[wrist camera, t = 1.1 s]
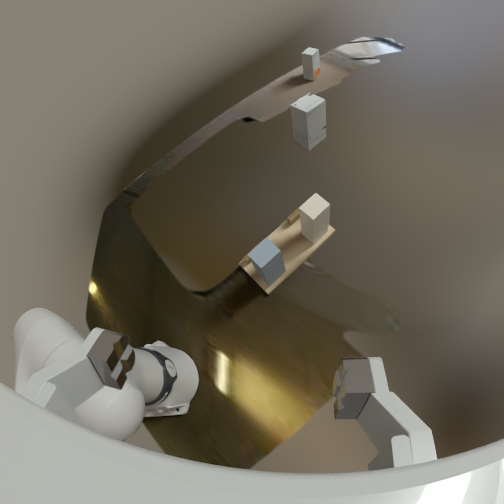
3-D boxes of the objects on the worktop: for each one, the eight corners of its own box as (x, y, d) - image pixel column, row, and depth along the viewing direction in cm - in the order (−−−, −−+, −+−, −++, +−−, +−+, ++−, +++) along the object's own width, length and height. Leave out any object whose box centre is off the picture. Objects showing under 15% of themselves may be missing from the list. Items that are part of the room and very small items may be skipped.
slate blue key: (286, 271, 66) (280, 250, 56) (270, 286, 66) (261, 268, 55) (274, 259, 68) (266, 237, 57) (258, 274, 68) (247, 254, 57)
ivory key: (328, 230, 68) (330, 204, 57) (313, 244, 68) (313, 219, 57) (315, 220, 70) (315, 192, 59) (301, 234, 69) (298, 207, 58)
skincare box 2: (309, 152, 80) (306, 114, 67) (293, 142, 82) (288, 105, 69) (327, 137, 81) (326, 99, 68) (311, 128, 84) (309, 90, 70)
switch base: (335, 231, 69) (335, 225, 66) (268, 295, 66) (266, 291, 63) (304, 206, 73) (303, 198, 70) (239, 264, 71) (236, 259, 68)
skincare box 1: (314, 81, 93) (311, 55, 82) (303, 78, 95) (300, 53, 84) (320, 74, 94) (318, 48, 84) (310, 71, 96) (308, 46, 85)
